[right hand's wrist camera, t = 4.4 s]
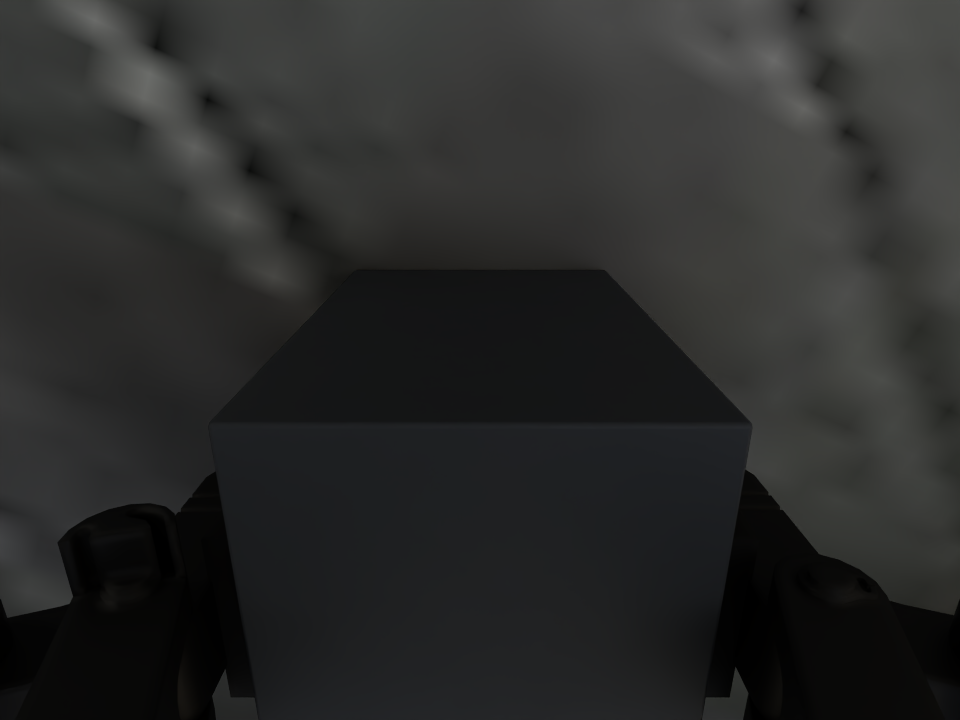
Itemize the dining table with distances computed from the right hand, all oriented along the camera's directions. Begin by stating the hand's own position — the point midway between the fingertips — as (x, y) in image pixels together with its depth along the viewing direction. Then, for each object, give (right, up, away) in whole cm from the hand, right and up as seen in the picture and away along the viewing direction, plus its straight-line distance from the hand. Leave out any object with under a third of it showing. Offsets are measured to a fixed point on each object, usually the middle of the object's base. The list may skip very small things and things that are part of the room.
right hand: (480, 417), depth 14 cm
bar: (0, -9, +4) cm, 10 cm away
